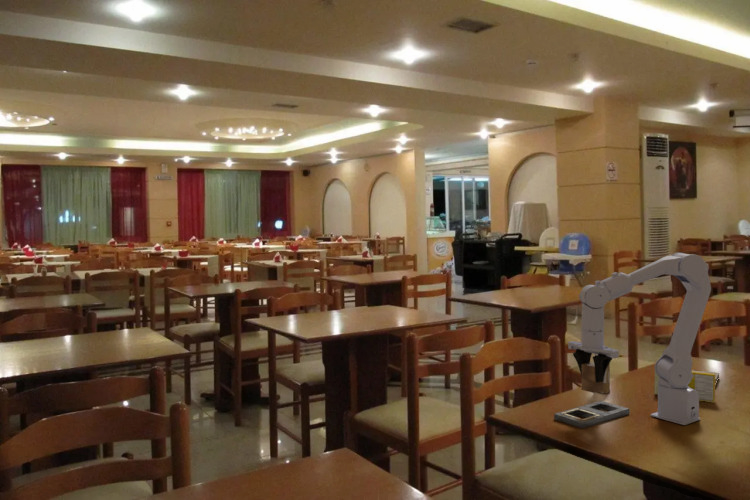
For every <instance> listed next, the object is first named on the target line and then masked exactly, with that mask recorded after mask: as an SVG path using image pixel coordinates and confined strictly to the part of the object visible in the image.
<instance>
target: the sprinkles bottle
mask: <svg viewBox="0 0 750 500" xmlns="http://www.w3.org/2000/svg"><path fill="white" fill-rule="evenodd" d="M594 356H598V354H594ZM610 363H611V362H610ZM610 363H609V365H608V367H607V369H606V372H605V375H604V390H603V391H600V392H597V394H609V393H610V392H611V389H610V388H611V370H610V368H611V367H610Z"/></svg>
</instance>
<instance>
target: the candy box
mask: <svg viewBox="0 0 750 500" xmlns="http://www.w3.org/2000/svg"><path fill="white" fill-rule="evenodd" d="M658 380H659V376H658V375H657V373H656V371H655V370H654V389H653V390H654V395H657V396H658ZM688 387H689V388H691V389H694V390H696V391H697V392H698V395H699V402H703V401H705V403H710V402H711V404H715V403H716V386H715V374H710V373H702V372H693V371H692V379H691V382H690V383H689V384H688Z"/></svg>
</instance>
